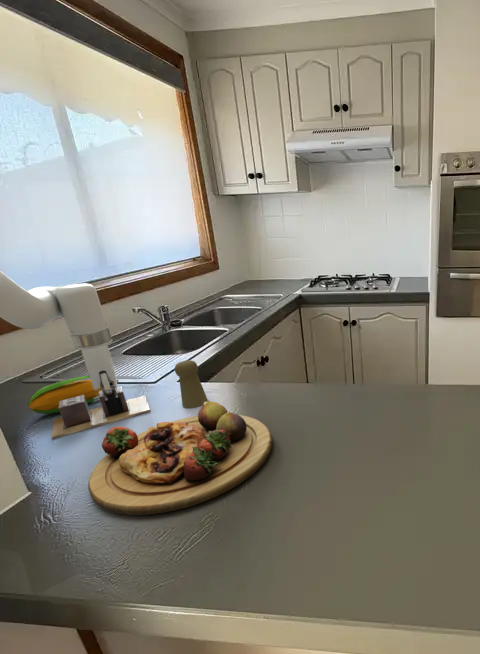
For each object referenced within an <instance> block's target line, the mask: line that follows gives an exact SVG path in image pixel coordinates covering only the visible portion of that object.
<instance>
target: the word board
mask: <svg viewBox="0 0 480 654" xmlns="http://www.w3.org/2000/svg"><path fill="white" fill-rule="evenodd" d="M126 402H127V405H128V409H129V410H128V411H124V412H121V413H117V414H114V415H109V416H105V414H104V411H103V408H102V406H98V407H95V408H91V409H89V410H90V413H91V421H88V422H84V423H80V424H77V425H73V426H69V427H66V426H65V424H64V421H63V419H62V416H60V417H57V418H54V419H53V424H52V431H51V439H52V440H54V439H55V440H56V439H58V438H61V437H65V436H68V435H72V434H76V433H79V432H82V431H86V430H90V429H93V428H97V427H100V426H105V425H108V424H112V423H115V422H118V421H122V420H126V419H128V418H132V417H133V418H134V417H136V416H139V415H144V414H146V413H151V408H150V405H149V403H148V400H147V397H146V394H145V395H140V396H137V397H132V398H129V399H126Z"/></svg>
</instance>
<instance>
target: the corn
mask: <svg viewBox="0 0 480 654" xmlns="http://www.w3.org/2000/svg"><path fill="white" fill-rule="evenodd" d="M118 384H119V379H117V385H118ZM98 391H102V390H101V386H100V389H97V390H94V388H93V385H92V382H91V379H90V376H89V375H83V376H76V377H73V378H69V379H64V380H61V381H58V382H55V383H52V384H49V385H45V386H43V387H41V388H40V389H38V390H37V391H35V392H34V393H33V394H32V395H31V396H30V397H29V400H28V403H27V405H28V408H29V409H30V410H31V411H32V412H35V413H37V414H43V415H51V414H60V411H59V409H58V407H59V401H61V400H65V399H69V398H74V397H78V396H82V395H84V396H85V399H86V402H87V404H88V405H89V404H90V403H92V402H94V401H96V400H97V399H96V398H99V392H98Z"/></svg>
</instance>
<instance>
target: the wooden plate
mask: <svg viewBox="0 0 480 654" xmlns="http://www.w3.org/2000/svg"><path fill="white" fill-rule="evenodd" d="M272 447H273V437H272V433H271V432H270V429H269V428H268V426H266V425H265V424H264V423H262V422H261V421H259V420H258V419H256V418H255V417H250V416H247V415H243V414H238V413H235V412H230V411H228V410H227V408H226V407H225V406H223V405H222V404H221V403H218V402H215V401H211V400H208V401H207V402H204V403H203V404H202V405H201V406H200V409H199V410H198V414H197V415H195V416H189V417H185V418H179V419H176V420H173V421H162V422H161V421H160V422H157V423H156V425H155V427H154V426H150V427H149V428H148V429H147V430H145V431H142V432H140V433H138V434H137V433H136V431H134V430H132V429H131V428H129V427H125V426H115V427H112V428H110V429H109V430H107V432H106V434H105V436H104V437H103V440H102V442H101V448H102V450H103V453H104V454H105V456H103V458H102V459H100V461H98V463H97V464H96V465H95V467H94V468H93V470H92V472H91V474H90V475H89V480H88V482H87V483H88V484H87V485H88V486H87V488H88V492H89V495H90V497H91V499H92V500H93V502H94V503H95V504H96V505H97V506H99V507H100V508H102V509H105V510H107V511H110V512H112V513H116V514H122V515H131V516H132V515H134V516H136V515H137V516H138V515H140V516H141V515H142V516H143V515H145V516H146V515H156V514H163V513H168V512H173V511H177V510H181V509H186V508H190V507H193V506H195V505H198V504H201V503H204V502H206V501H209V500H211V499H213V498H216V497H218V496H220V495H222V494H224V493H227V492H229V491H230V490H232V489H234V488H236V487H237V486H239V485H240V484H241V483H243V482H245V480H247V479H248V478H250V477H251V476H252V475H253V474H255V472H257V471H258V470H259V469H260V467H261V466H262V465H263V464H264V463H265V462H266V460H267V459H268V458H269V457H268V456H269V455H270V453H271V450H272Z"/></svg>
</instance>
